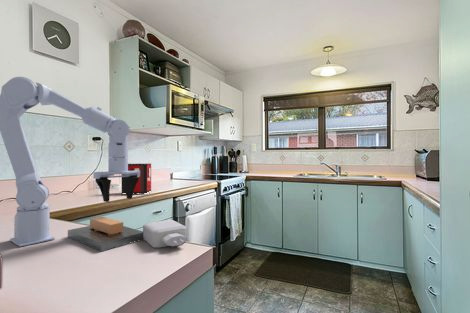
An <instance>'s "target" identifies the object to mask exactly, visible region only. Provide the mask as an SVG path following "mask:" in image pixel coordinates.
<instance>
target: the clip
mask: <svg viewBox="0 0 470 313" xmlns="http://www.w3.org/2000/svg"><path fill="white" fill-rule="evenodd" d="M89 226H90V228H93V229H94V231H102V232H105V233H108V236H113V235H117V234H119V232H123V226H124V222H123V221H119V220H116V219H113V218H108V217H105V216H100V217H98V216H97V217H93V218H89Z"/></svg>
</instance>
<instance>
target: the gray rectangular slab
mask: <svg viewBox="0 0 470 313" xmlns="http://www.w3.org/2000/svg"><path fill="white" fill-rule="evenodd" d="M67 238H69V239H70V240H71V239H72V240H74V241H76V242H79V243H81V244H83V245H86V246H87V245H88V247H90V248H92V249H94V250H97V251H99V252H104V250H105V251H108V250H111V249H110V248H112V249H114V248H113V247H116V248H118V247H117V246H119V247H121V246H120V245H123V244H126V245H128V244H127V243H130V242H133V243H135V242H134V241H137V242H139V241H138V240H140V241H143V230H140V229H139V230H138V229H135V228H131V227H127V226H124V225H123V232H119V234H117V235H113V236H108V233H105V232H102V231H94V229H93V228H90V225H87V226H82V227H81V226H80V227H77V228H76V227H75V228H72V229H67ZM130 244H131V243H130ZM123 246H124V245H123ZM107 249H108V250H107Z"/></svg>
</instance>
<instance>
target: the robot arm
mask: <svg viewBox="0 0 470 313" xmlns="http://www.w3.org/2000/svg"><path fill="white" fill-rule="evenodd" d="M0 91H1V92H0V135H1V138H2V141H3V144H4V147H5V150H6V152H7V156H8V158H9V161H10V164H11V167H12V170H13V173H14V175H15V187H16V189H17V190H16V191H17V192H16V196H15V201H16V203H17V205H18V206H17V207H16V213H15V215H14V217H13V218H14V221H13V222H14V225H13V226H14V232H13V233H14V235H13V236H14V237H10V238H9V241H10V242H12V243H13V244H15V245H16V246H18V247H24V246H29V245H34V244H39V243H43V242H47V241H53V240H55V239H56V237H55V236H54V235H51V234H50V229H51V228H50V221H51V220H50V218H51V216H50V213H51V212H50V207H51V205H50V204H48V203H47V202H46V201H47V200H48V198H49V197H50V189H49V188H48V187H47V185H45V184H44V183H43V181H42V178H41V177H40V174H39V172H38V170H37V167H36V163H35V161H34V157H33V155H32V152H31V148H30V146H29V143H28V139H27V137H26V134H25V130H24V128H23V124H22V121H21V117H22V116H23V115H24V114H25V113H26V111H27V110H30V109H31V108H34V107H35V106H37V105H39V104H40V105H41V106H51V105H53V106H55V107H57V108H60V109H61V110H63V111H67V112H69V113H71V114H74V115H76V116H78V117H80V118H81V120H82V122H83V124H84V125H87V126H89V127H91V128H94V129H95V130H98V131H100V132H102V133H107V134H108V136H109V137H108V139H109V140H108V146H107V147H108V148H107V149H108V156H107V157H108V159H107V160H108V166H107V167H108V169H107V171H93V174H92V175H93V176H92V177H93V179H95V182H96V184H97V186H98V188H99V190H100V193H101V195H102V199H103V202H104V203H105V202H106V203H110V190H111V189H110V187H111V184H112V179H113V178H122V177H127V178H125V182H126V194H125V195H126V196H125V197H126V199H129V200H131V199H133V196H134V194H133V192H134V189H135V186H136V184H137V182H138V181H139V177H137V176H140V171H128V164H129V143H128V141H129V139H128V135H129V133H130V131H131V129H130V127H129V124H128V123H127V122H126V121H124V120H122V119H117V116H116V115H113V116H111V115H110V114H108V113H106V112H105V111H102V108H100V107H99V106H97V107H95V106H89V107H86V106H83V105H81V104H79V103H78V102H76V101H74V100H72V99H70V98H69V97H67V96H64V95H63V94H62V93H59V92H58V91H56V90H55V89H52V88H50V87H49V86H46V85H45V84H42V83H40V82H37V81H35V82H34V81H33V80H32V79H30V78H28V77H25V76H15V77H12V78H10V79H9V80H8V81H7V82H6V83H4V84H3V85H2V86H1V90H0ZM111 178H112V179H111Z"/></svg>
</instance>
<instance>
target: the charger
mask: <svg viewBox="0 0 470 313" xmlns="http://www.w3.org/2000/svg"><path fill="white" fill-rule="evenodd" d="M187 229H188V227H187V226H186V225H183V224H181V223H180V222H178V221H175V220H173V219H167V220H165V219H164V220H159V221H151V222H147V223H145V224H143V225H142V231H143V239H144V241H145V242H146V243H147V244H149V245H150V246H151V247H153V249H160V248H167V247H175V246H181V245H183V244H184V243H186V242H187V240H188V230H187Z"/></svg>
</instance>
